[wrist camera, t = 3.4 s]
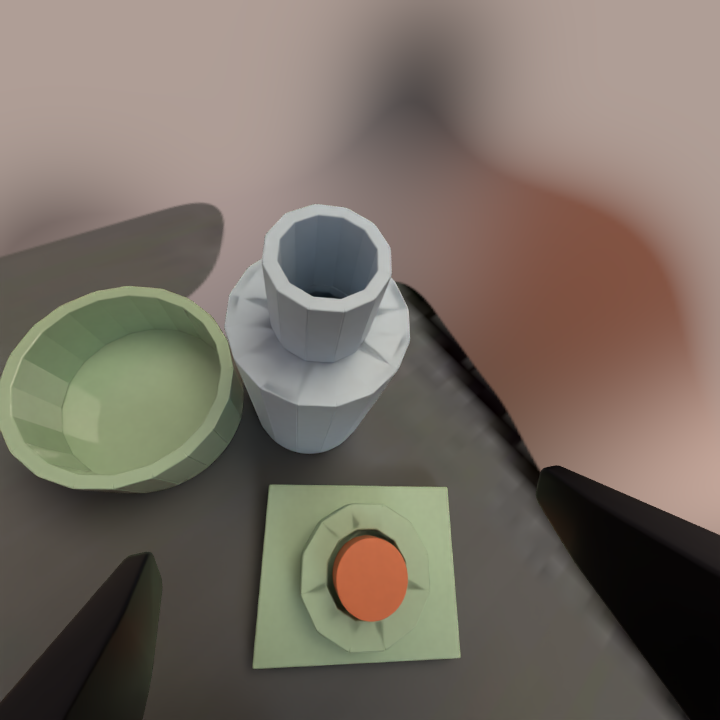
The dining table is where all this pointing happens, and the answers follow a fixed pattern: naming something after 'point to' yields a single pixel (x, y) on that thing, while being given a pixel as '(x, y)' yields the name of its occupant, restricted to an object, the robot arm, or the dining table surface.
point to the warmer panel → (315, 580)
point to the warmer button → (370, 578)
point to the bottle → (317, 326)
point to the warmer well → (121, 392)
